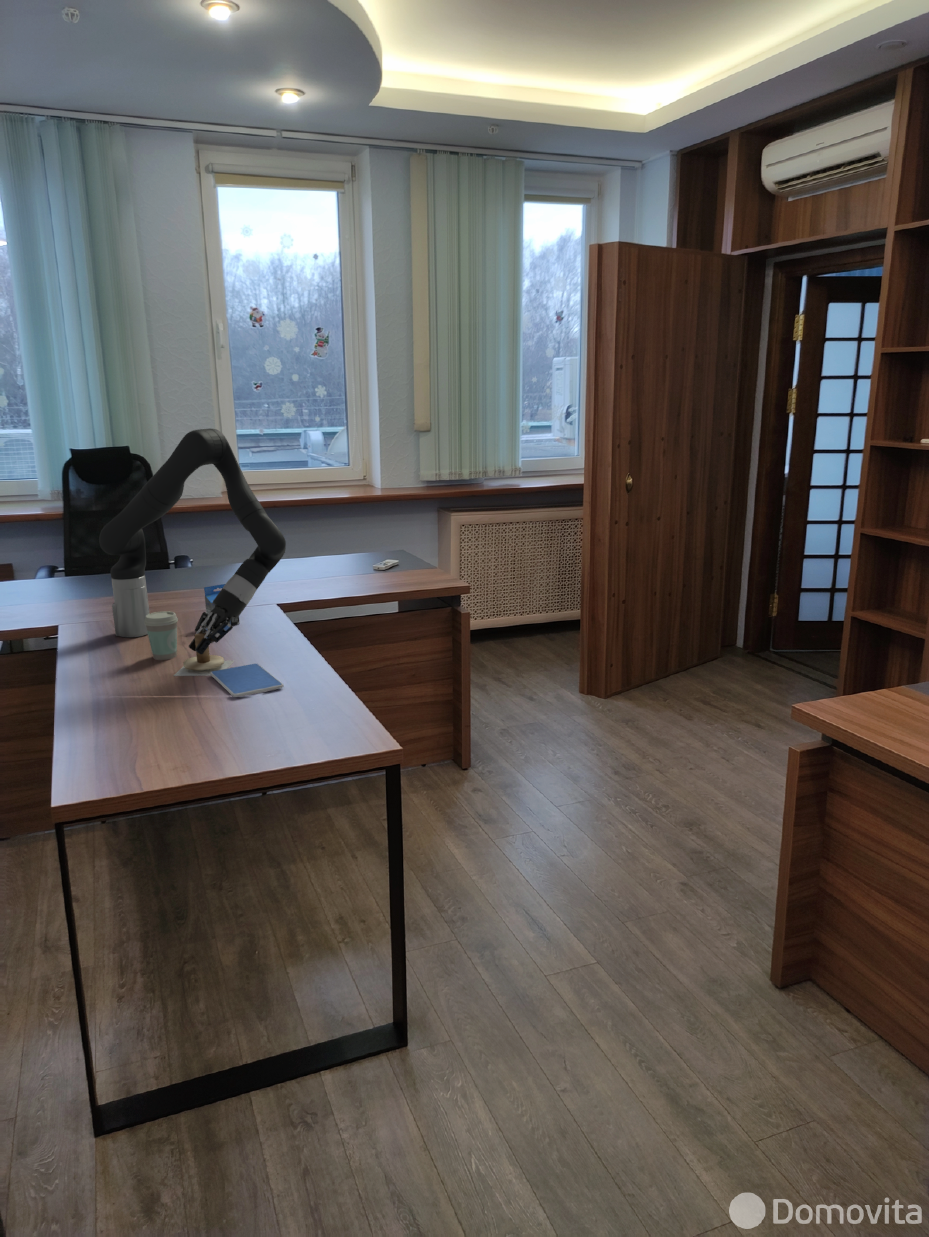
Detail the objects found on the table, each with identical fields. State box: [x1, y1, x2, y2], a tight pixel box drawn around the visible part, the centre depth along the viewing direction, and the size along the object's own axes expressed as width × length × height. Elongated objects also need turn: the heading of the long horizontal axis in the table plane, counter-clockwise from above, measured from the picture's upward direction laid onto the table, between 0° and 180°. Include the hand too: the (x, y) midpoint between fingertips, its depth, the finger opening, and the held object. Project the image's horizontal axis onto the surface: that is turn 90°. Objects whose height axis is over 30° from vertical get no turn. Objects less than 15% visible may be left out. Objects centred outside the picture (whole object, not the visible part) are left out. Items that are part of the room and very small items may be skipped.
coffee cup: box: [144, 610, 179, 661], centre depth 234 cm, size 9×9×12 cm
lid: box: [182, 633, 225, 670], centre depth 224 cm, size 10×10×8 cm
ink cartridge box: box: [203, 583, 241, 626], centre depth 264 cm, size 9×4×12 cm, turn 131°
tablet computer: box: [210, 663, 284, 698], centre depth 214 cm, size 19×13×1 cm, turn 32°
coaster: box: [173, 660, 235, 677], centre depth 225 cm, size 12×12×1 cm
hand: (195, 650), depth 223 cm, fingers closed on lid, 3 cm apart
